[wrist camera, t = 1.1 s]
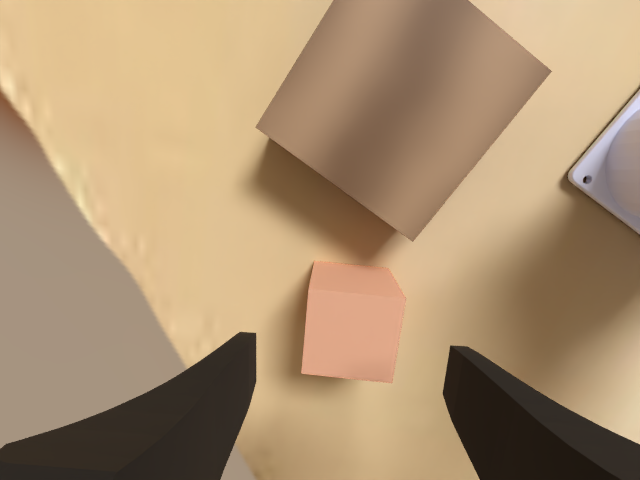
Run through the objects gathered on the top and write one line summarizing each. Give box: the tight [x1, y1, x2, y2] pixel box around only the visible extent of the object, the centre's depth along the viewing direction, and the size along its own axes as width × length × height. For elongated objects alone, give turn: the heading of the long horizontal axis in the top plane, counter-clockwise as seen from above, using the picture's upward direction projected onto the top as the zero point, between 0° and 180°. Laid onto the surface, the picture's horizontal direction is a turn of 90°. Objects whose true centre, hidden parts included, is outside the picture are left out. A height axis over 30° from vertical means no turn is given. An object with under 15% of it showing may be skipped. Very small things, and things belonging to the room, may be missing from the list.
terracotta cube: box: [301, 261, 406, 383], centre depth 18 cm, size 5×5×5 cm
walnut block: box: [256, 0, 552, 242], centre depth 16 cm, size 10×10×4 cm
